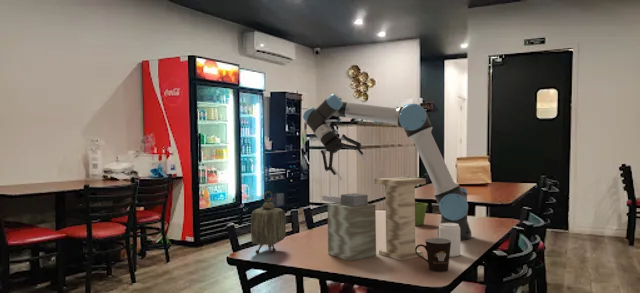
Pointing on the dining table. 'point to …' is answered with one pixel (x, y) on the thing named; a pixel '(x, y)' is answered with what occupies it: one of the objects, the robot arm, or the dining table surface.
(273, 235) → the tabletop clock
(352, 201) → the grey t-shaped bar
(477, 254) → the dining table surface
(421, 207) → the green tapered cylinder
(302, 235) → the dining table surface
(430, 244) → the coffee mug
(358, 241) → the beige grey streaked blocks
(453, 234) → the beverage can
